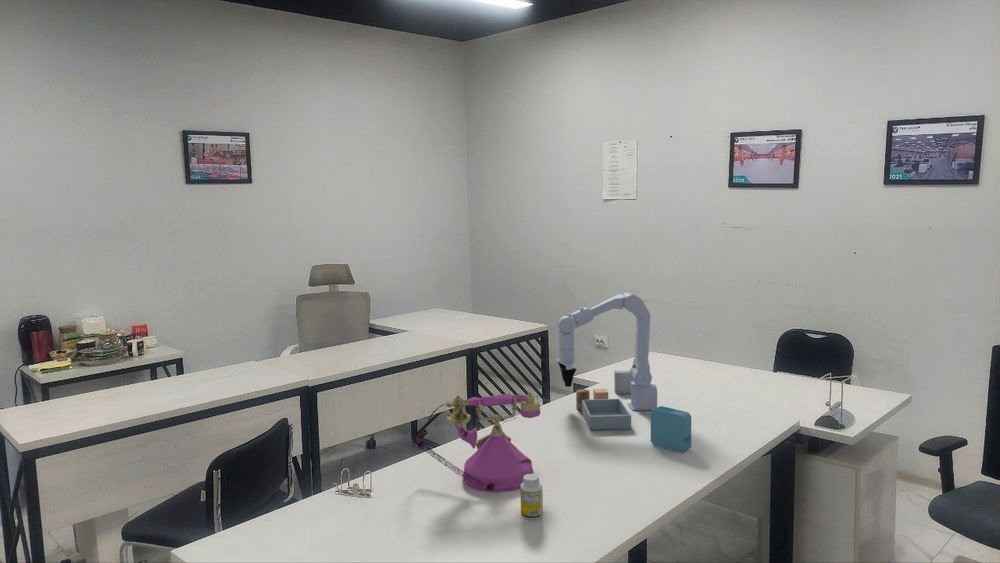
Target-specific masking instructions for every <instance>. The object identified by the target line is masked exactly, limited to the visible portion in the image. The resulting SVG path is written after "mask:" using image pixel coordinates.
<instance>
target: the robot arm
mask: <svg viewBox="0 0 1000 563" xmlns="http://www.w3.org/2000/svg"><path fill="white" fill-rule="evenodd" d="M578 308H579V310H576V311H574V312H572V313H571V312H568V313H567V315H563V316H561V317H559V319H558V321H557V327H558V328H559V330H558V358H557V359H555V363H557V365H558V366H559V368H560V372H561V378H562V382H564V386H565V387H567V388H568V387H572V384H573V379H574V376H575V373H576V371H577V368H573V365H574V363H575V362H576V359H575V336H574V331H575V329H578V328H580V327H582V326H585V325H587V324H589V323H590V322H593V320H594V318H595V317H596V316H599V315H601V314H603V313H606V312H608V311H611V310H614V309H616V310H621V311H622V310H624V309H626V311H628V312H629V313H631V314H632V315H634V317H635V318H636V319H635V320H636V322H635V324H636V325H635V342H634V343H635V344H634V345H635V346H634V358H633V361H632V367H631V368H630V375H631V377H632V378H633V380H632V382H631V393H630V402H628V403H627V404H628V406H629V407H630V408H631V410H632V411H652V410H653V409H655V408H657V407H658V388H657V385H656V384H655V383H652V379H653V376H652V374H651V370H650V369H651V366H650V363H649V362H650V361H649V353H650V352H649V351H650V349H649V348H650V335H651V334H650V331H651V330H650V329H651V312H650V311H649V309H648V307H647V305H646V304H645V302H644V300H643V299H642V298H640V297H639V296H637V294H636V295H635V294H634V293H633V292H630V291H624V292H623V293H620V294H616V295H614V296H612V297H610V298H609V299H606V300H605V301H603V302H601V303H598V304H597V305H595V306H593V307H583V306H581V307H578Z"/></svg>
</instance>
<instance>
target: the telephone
mask: <svg viewBox="0 0 1000 563" xmlns="http://www.w3.org/2000/svg"><path fill="white" fill-rule="evenodd" d="M445 402H446V403H443V404H441V405H439V406H438V407H437V408H436V409H434V410H433V412H432V413H431V414H430V417H429V418H428V421H427V422H426V424H425V427H424V429H422V431H420V433H418V435H417V436H416V441H415V442H416V445H417V447H418V448H420V449H421V450H423V451H425V452H426V454H429V455H430V456H431V457H432V458H434V459H435V460H437V461H438V462H439V463H441V464H442V465H444V466H445V467H446V468H448V469H449V470H451V471H453V472H454V473H455V474H456V475H458V476H459V477H462V478H463V479H464V481H465V482H466V484H467V485H468V487H470V488H473V489H474V490H475V489H476V490H477V491H481V492H482V491H484V492H491V493H502V492H503V493H505V492H511V491H516V490H519V489H520V486H521V484H522V483H523V476H524V475H526V474H535V473H534V470H533V463H532V460H531V459H530V458H529V457H528V456H526V455H525V454H524V453H523V452H522V451H521V450H520V449H518V448H517V447H516V446H515V445H514V444H513V443H512V438H511V437H510V436H508V435H507V434H505V432H504V431H503V429H502V424H504V423H505V422H509V421H512V420H515V419H517V417H515V415H516V411H517V410H518V409H517V407H518V405H517V404H520V411H519V412H520V415H521V417H523V418H527V419H533V418H536V417H540V415H541V406H540V401H539V400H536V399H535V395H534V394H533V392H532V391H528V392H527V394H521V393H517V394H516V395H515V394H512V393H503V394H497V395H489V396H488V395H486V396H481V398H480V397H476V396H473V397H471V398H470V397H469V398H468V399H464V398H462V397H460V395H456V397H455V398H454V399H453V400H449V401H448V400H447V401H446V400H445ZM481 405H482V406H481ZM503 405H505V406H506V405H511V410H512V414H511V415H506V416H500V415H499V414H495V415H493V416H492V417H491V416H490V417H481V415H482V407H483V408H484V407H495V406H503ZM443 406H446V407H447V408H454V409H453V411H452V412H451V413H450V414H449V415H447V416H446V421H447V422H448V423H449V424H450V425H455V427H456V430H457V434H458V436H459V438H460V439H461V440H462V441H464V442H466V443H467V444H469V445H470V446H471V447H472V449H475V448H476V449H477V450H476V451H475V452H474V453H473V454H472V455H470V456H469V458H467V459H466V460H465V463H463V466H464V467H463V470H462V469H460V468H459V467H457V466H456V465H454V464H453V463H451V462H450V461H448V460H447V459H445V458H444V457H443V456H441V455H440V454H438V453H437V452H435V451H434V450H433V449H432V448H430V447H429V446H427V445H426V444H424V443H423V441H422V440H423V439H424V437H425V436H426V435H428V434H429V432H428V430H427V429H426V428H427V426H428V424H429V422H430V420H431V418H432V417H433V415H434V413H435V412H436V411H437V410H438V409H440V408H441V407H443ZM466 406H473V407H475V410H476V414H477V416H478V418H479V419H477V422H481V423H483V421H488V424H490V425H492V422H490V421H491V420H492V421H493V420H494V424H493V425H492V429H491V432H490V433H489V434H486V435H485V436H482V438H479V439H478V428H477V427H475V428H473V429H472V430H467V429H465V428H463V426H464V424H468V423H469V421H471V419H472V416H471V414H468V413H467V412H466V411H465V410H464V409H463V407H466ZM510 418H511V419H510ZM501 419H508V420H504V421H503V422H502V424H501V423H500V421H501Z"/></svg>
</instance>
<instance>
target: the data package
mask: <svg viewBox="0 0 1000 563" xmlns="http://www.w3.org/2000/svg"><path fill="white" fill-rule="evenodd" d="M650 443H651V444H652V445H653V446H656V447H658V448H663V449H666V450H670V451H673V452H677V453H679V454H680V453H684V452H685V451H687V450H689V449H690V448H691V446H692V415H691V414H690V413H689V412H688V411H685V410H680V409H675V408H671V407H667V406H663V405H661V406H657V408H655V409H653V410H650Z"/></svg>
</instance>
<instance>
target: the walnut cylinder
mask: <svg viewBox="0 0 1000 563" xmlns="http://www.w3.org/2000/svg"><path fill="white" fill-rule="evenodd" d="M575 392H576V394H575V395H576V396H575V397H576V398H575V401H576V405H575V406H576V407H575V408H576V411H578V410H579V412H582V400H591V399H590V397H591V396H590V395H591V394H590V393H591V392H590V390H589V389H583V388H582V389H581V388H580V389H577V390H576V391H575Z"/></svg>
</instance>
